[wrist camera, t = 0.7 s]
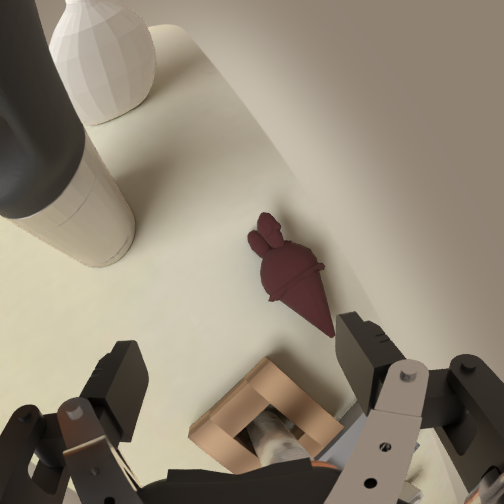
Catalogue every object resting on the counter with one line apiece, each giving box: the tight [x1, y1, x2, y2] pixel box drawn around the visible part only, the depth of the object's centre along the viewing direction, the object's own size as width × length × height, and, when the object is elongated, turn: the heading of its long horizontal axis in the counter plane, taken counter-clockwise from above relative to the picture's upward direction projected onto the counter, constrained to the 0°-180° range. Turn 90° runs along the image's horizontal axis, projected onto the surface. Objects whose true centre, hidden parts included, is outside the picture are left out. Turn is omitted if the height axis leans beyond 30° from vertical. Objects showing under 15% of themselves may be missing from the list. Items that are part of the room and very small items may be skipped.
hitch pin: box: [247, 411, 338, 469], centre depth 22 cm, size 6×6×17 cm
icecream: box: [248, 212, 335, 338], centre depth 32 cm, size 7×7×15 cm
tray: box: [313, 401, 420, 471], centre depth 30 cm, size 12×11×3 cm
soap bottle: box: [49, 0, 156, 125], centre depth 24 cm, size 14×8×27 cm, turn 121°
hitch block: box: [188, 357, 344, 474], centre depth 29 cm, size 12×12×4 cm
